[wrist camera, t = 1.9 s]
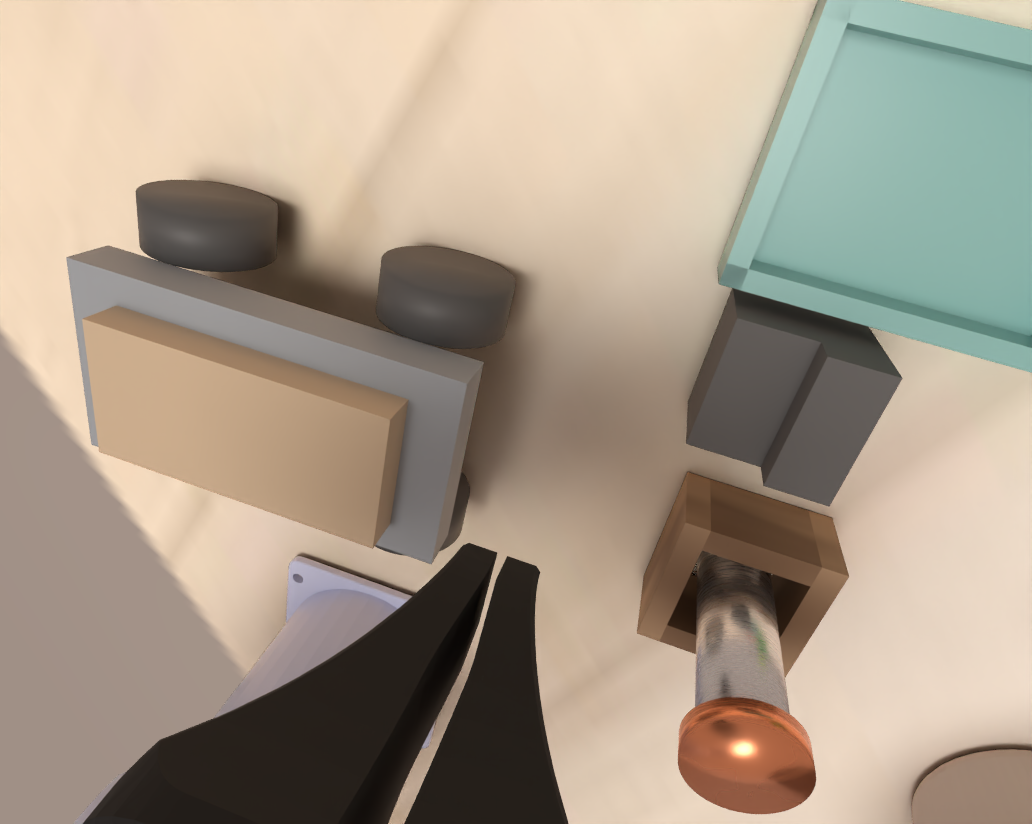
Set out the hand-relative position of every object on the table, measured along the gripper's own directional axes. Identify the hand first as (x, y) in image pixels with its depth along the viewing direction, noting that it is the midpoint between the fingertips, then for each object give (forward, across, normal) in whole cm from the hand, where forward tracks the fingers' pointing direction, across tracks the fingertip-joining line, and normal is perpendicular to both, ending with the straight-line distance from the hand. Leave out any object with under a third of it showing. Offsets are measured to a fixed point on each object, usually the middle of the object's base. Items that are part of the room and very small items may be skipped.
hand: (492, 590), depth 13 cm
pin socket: (+10, -7, +4) cm, 13 cm away
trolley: (+10, +8, +2) cm, 14 cm away
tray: (+10, -8, -8) cm, 15 cm away
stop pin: (+10, -7, +4) cm, 13 cm away
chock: (+11, -6, -2) cm, 12 cm away
